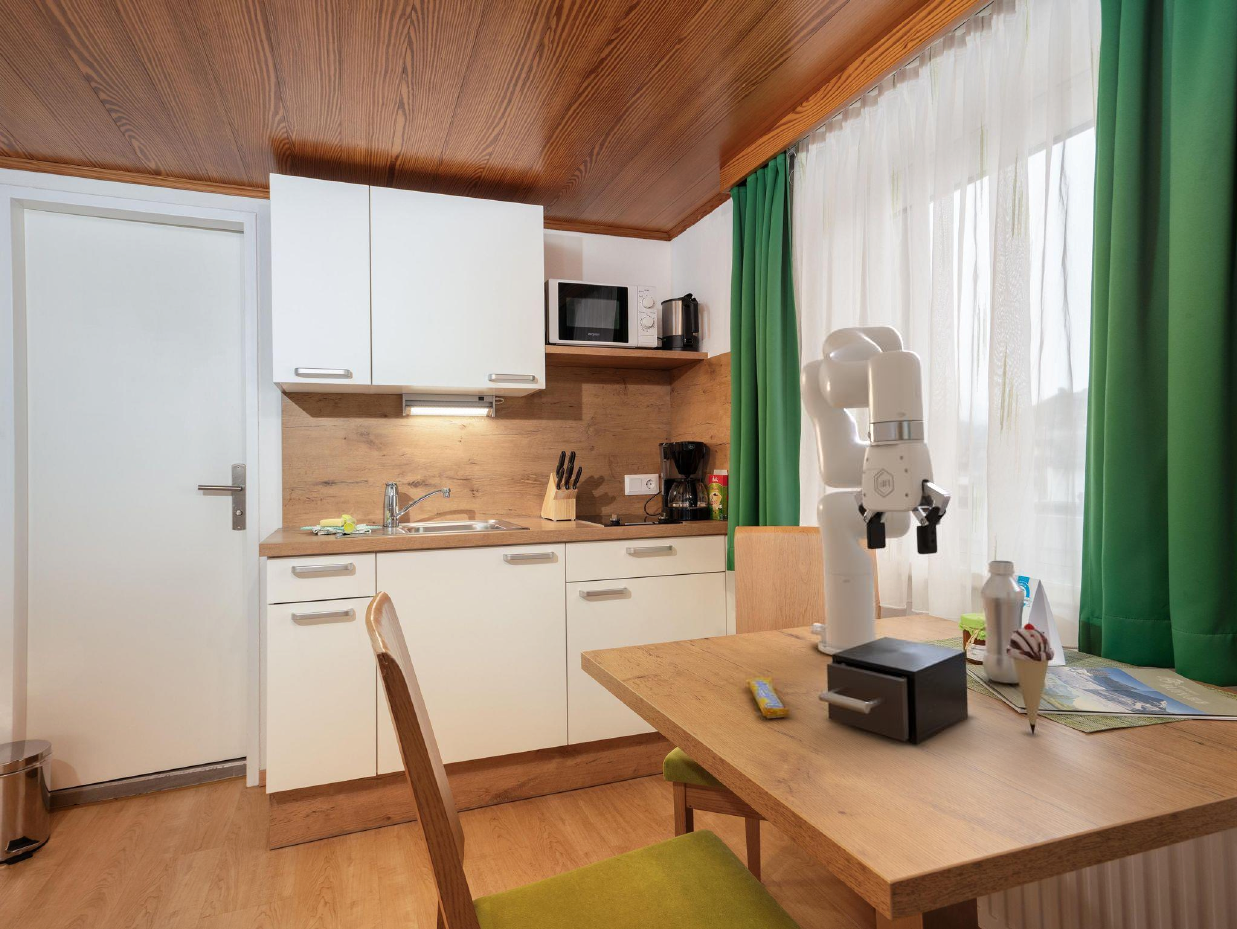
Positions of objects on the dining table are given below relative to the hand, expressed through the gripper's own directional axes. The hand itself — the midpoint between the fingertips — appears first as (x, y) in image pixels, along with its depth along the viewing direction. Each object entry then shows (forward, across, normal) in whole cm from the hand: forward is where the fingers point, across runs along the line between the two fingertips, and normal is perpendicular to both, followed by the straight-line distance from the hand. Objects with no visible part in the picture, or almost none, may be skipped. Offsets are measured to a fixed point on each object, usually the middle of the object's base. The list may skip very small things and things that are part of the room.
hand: (901, 550), depth 104 cm
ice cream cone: (+24, +13, +9) cm, 29 cm away
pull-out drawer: (+23, +2, -7) cm, 24 cm away
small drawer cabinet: (+24, +1, -2) cm, 24 cm away
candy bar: (+24, -15, -14) cm, 32 cm away
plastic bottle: (+24, -4, +26) cm, 35 cm away
